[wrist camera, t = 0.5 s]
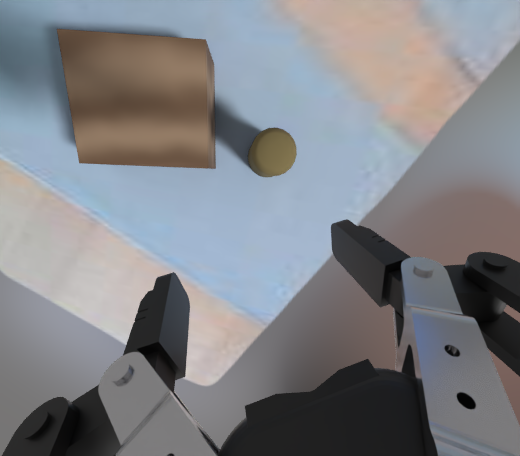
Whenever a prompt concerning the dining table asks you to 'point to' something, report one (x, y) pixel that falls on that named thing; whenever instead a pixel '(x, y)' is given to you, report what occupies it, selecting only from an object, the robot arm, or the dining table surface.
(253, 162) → the cork
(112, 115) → the walnut block
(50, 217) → the dining table surface
